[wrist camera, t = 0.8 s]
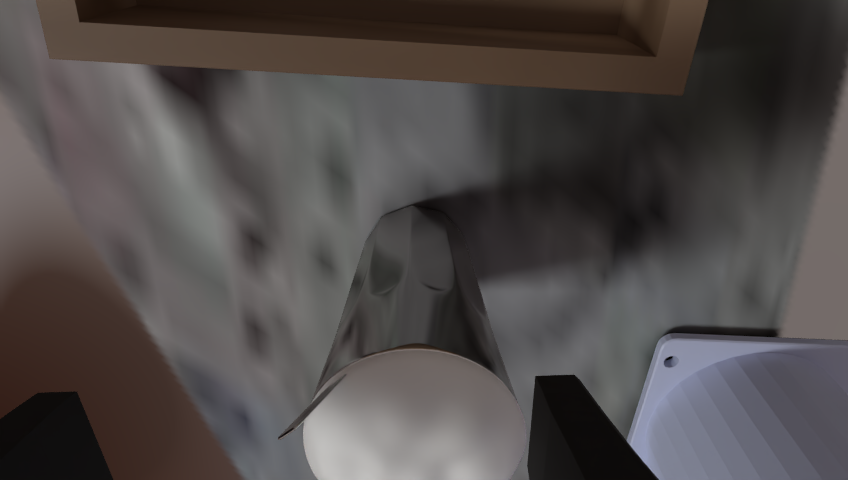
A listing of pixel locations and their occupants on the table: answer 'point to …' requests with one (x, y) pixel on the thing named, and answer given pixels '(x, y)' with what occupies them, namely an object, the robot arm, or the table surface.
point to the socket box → (395, 38)
